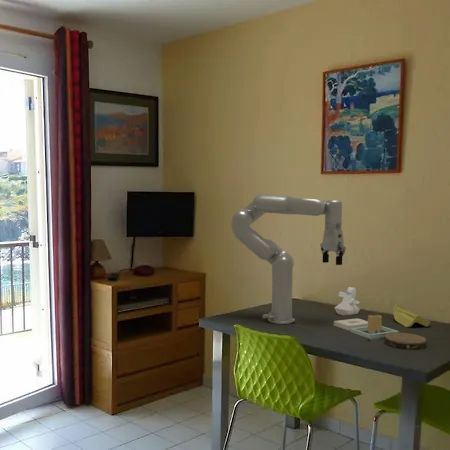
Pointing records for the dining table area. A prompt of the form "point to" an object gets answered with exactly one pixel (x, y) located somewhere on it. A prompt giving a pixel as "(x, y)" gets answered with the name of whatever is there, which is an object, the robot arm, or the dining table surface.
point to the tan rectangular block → (374, 324)
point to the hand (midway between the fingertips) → (332, 263)
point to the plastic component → (408, 317)
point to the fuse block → (351, 323)
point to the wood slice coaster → (405, 341)
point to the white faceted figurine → (348, 303)
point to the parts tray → (370, 336)
